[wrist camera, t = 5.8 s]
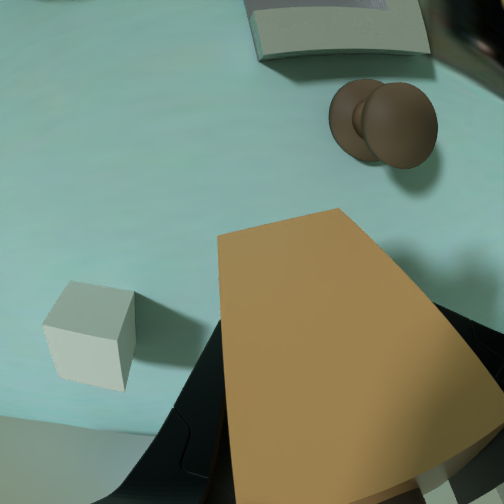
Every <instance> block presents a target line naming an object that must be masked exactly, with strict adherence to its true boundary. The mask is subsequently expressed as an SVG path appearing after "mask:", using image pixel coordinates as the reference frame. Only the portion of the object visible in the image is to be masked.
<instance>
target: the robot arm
mask: <svg viewBox="0 0 504 504" xmlns="http://www.w3.org/2000/svg"><path fill="white" fill-rule="evenodd" d="M432 303H433V304H434V305H435V306H436V307H437V308H438V310H439V311H440V312H441V313H442V314H443V315H444V317H445V318H446V319H447V320H448V321H449V322H450V324H451V325H452V326H453V327H454V328H455V330H456V331H457V332H458V333H459V334H460V336H461V337H462V338H463V339H464V341H465V342H466V343H467V344H468V346H469V347H470V348H471V349H472V351H473V352H474V353H475V354H476V356H477V357H478V358H479V360H480V361H481V362H482V364H483V365H484V366H485V368H486V369H487V370H488V372H489V373H490V374H491V376H492V377H493V378H494V380H495V381H496V383H497V384H498V385H499V387H500V388H501V390H502V391H503V393H504V334H503V333H500V332H498V331H495V330H493V329H490V328H488V327H486V326H484V325H481V324H479V323H477V322H475V321H473V320H471V321H470V319H468V318H466V317H464V316H462V315H460V314H458V313H455V312H453V311H451V310H449V309H447V308H445V307H442V306H440V305H438V304H436V303H434V302H432ZM448 480H449V483H450V485H451V488H452V490H453V492H454V495H455V497H456V500H457V502H458V504H468V503H470V502H472V501H474V500H475V499H477V498H479V497H481V496H483V495H484V494H486V493H488V492H489V491H491V490H493V489H494V488H496V489H497V491H498V493H499V495H500V498H501V500H502V502H503V504H504V427H503V428H502V430H501V431H500V432H499V433H498V434H497V435H496V436H495V437H494V438H493V439H492V440H491V441H490V442H489V443H488V444H487V445H486V446H485V447H484V448H483V449H482V450H481V451H480V452H479V453H478V454H477V455H476V456H475V457H474V458H473V459H472V460H470V461H469V462H468V463H467V464H466V465H465V466H464V467H463V468H461V469H460V470H459V471H458V472H457V473H456V474H454V475H453V476H452V477H451V478H449V479H448ZM92 504H236V497H235V488H234V478H233V469H232V459H231V449H230V438H229V427H228V415H227V403H226V390H225V376H224V361H223V346H222V329H221V319H220V320H219V322H218V324H217V326H216V328H215V329H214V331H213V333H212V335H211V337H210V339H209V341H208V342H207V344H206V346H205V348H204V350H203V352H202V354H201V355H200V357H199V359H198V361H197V363H196V365H195V367H194V369H193V370H192V372H191V374H190V376H189V378H188V380H187V382H186V383H185V385H184V387H183V389H182V391H181V393H180V395H179V396H178V398H177V400H176V402H175V404H174V408H172V409H171V411H170V413H169V415H168V417H167V418H166V420H165V422H164V424H163V425H162V427H161V429H160V430H159V432H158V434H157V435H156V437H155V438H154V440H153V441H152V443H151V444H150V446H149V447H148V449H147V450H146V451H145V453H144V454H143V456H142V457H141V459H140V460H139V461H138V462H137V464H136V465H135V467H134V468H133V469H132V471H131V472H130V473H129V475H128V476H127V477H126V479H125V480H124V481H123V483H122V484H121V485H120V486H119V487H118V488H117V489H116V490H115V491H114V492H112V493H111V494H110V495H108V496H107V497H105V498H103V499H100V500H98V501H96V502H94V503H92Z"/></svg>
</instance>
